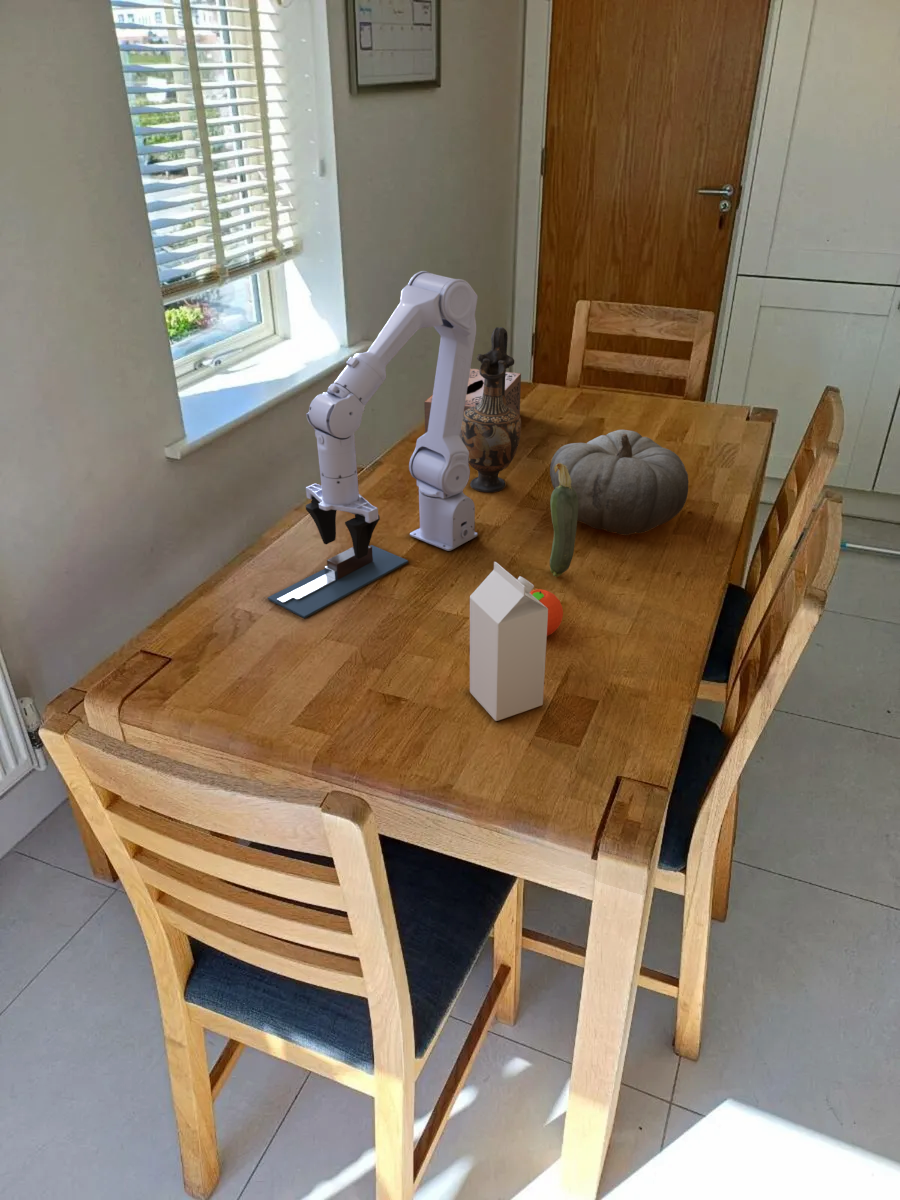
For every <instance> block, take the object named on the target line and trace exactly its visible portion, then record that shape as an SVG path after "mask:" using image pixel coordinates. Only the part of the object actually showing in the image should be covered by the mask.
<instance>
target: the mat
mask: <svg viewBox="0 0 900 1200" xmlns="http://www.w3.org/2000/svg"><path fill="white" fill-rule="evenodd" d="M370 546H371V547H372V554H373V562H371V563H369V564H367V565H365V566H363V567H361V568H359V569H357V570H355V571H353V572H352V573H350V574H348V575H346V576H344V577H342V578H340V579H338V580H337V581H335V582H333V583H331V584H329V585H328V586H326V587H324V588H322V589H320V590H318V591H316V592H314V593H312V594H310V595H308V596H306V597H305V598H303V599H301V600H299V601H297V600H295V599H292V600H290V601H288V602H287V603H285V604H283V603H281V602H279V601H277V599H278V598H280V597H282V596H284V595H286V594H288V593H290V592H292V591H294V590H296V589H298V588H300V587H302V586H304V585H306V584H307V583H309V582H311V581H313V580H315V579H317V578H319V577H321V576H323V575H325V568H323V569H321V570H319V571H317V572H314V573H313V574H311V575H310V576H307V577H305V578H303V579H301V580H299V581H297V582H296V583H293V584H291V585H289V586H288V587H286V588H284V589H281V590H279V591H278V592H275V593H273V594H271V595H270V596H268V597H267V600H268V601H270V602H272V603H274V604H276V605H278V606H279V607H281V608H283V609H285V610H287V611H289V612H291V613H293V614H295V615H296V616H299V617H301V618H303V619H306V618H308V617H310V616H313V615H314V614H316V613H317V612H319V611H321V610H324V609H325V608H327V607H328V606H331V605H332V604H334V603H336V602H338V601H340V600H341V599H343V598H345V597H347V596H349V595H351V594H352V593H354V592H356V591H358V590H360V589H362V588H364V587H366V586H367V585H369V584H371V583H373V582H374V581H376V580H378V579H380V578H382V577H384V576H386V575H388V574H389V573H391V572H394V571H395V570H397V569H399V568H401V567H403V566H404V565H407V564H408V563H409V560H408V559H406V558H403V557H402V556H399V555H397V554H394V553H391V552H389V551H387V550H385V549H382V548H380V547H377V546H375V545H373V544H370Z"/></svg>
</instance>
